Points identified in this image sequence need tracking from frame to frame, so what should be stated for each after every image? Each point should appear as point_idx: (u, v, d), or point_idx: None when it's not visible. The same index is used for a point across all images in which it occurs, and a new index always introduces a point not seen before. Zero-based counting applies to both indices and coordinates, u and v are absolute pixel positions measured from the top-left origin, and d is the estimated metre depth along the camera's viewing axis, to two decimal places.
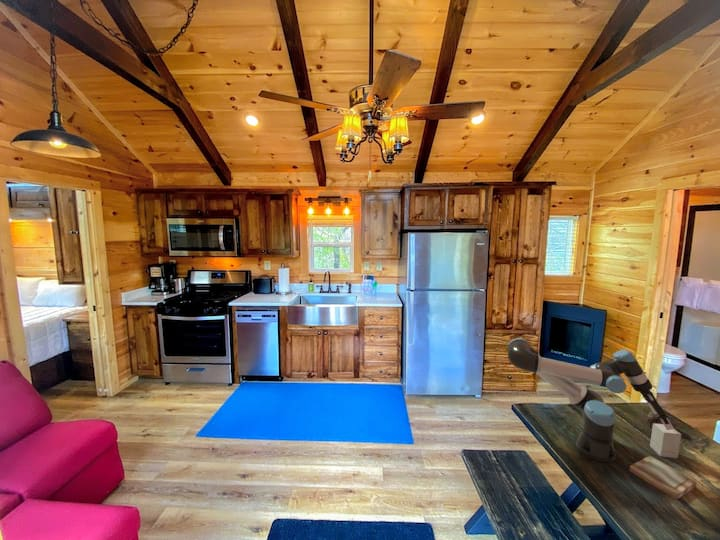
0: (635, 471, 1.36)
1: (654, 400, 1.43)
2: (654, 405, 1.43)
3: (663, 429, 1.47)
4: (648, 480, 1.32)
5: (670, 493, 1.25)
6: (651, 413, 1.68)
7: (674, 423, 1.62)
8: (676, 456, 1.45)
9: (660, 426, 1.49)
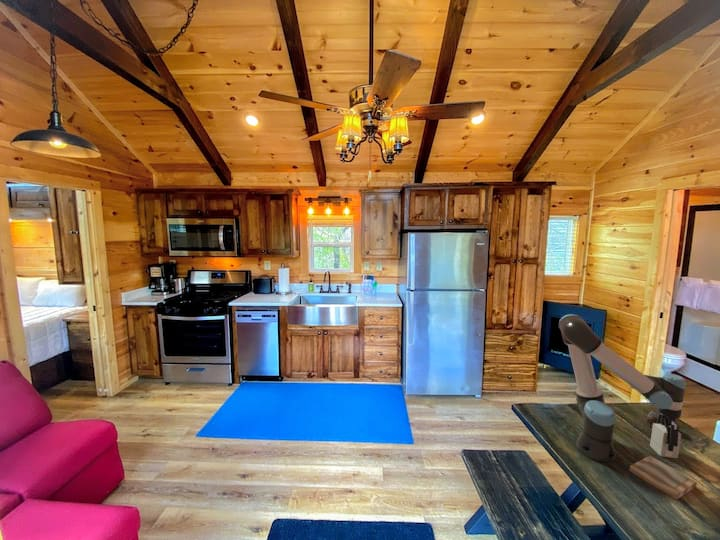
0: (635, 471, 1.36)
1: (676, 430, 1.41)
2: (673, 433, 1.41)
3: (663, 429, 1.47)
4: (648, 480, 1.32)
5: (670, 493, 1.25)
6: (651, 413, 1.68)
7: None
8: (676, 456, 1.45)
9: (660, 426, 1.49)
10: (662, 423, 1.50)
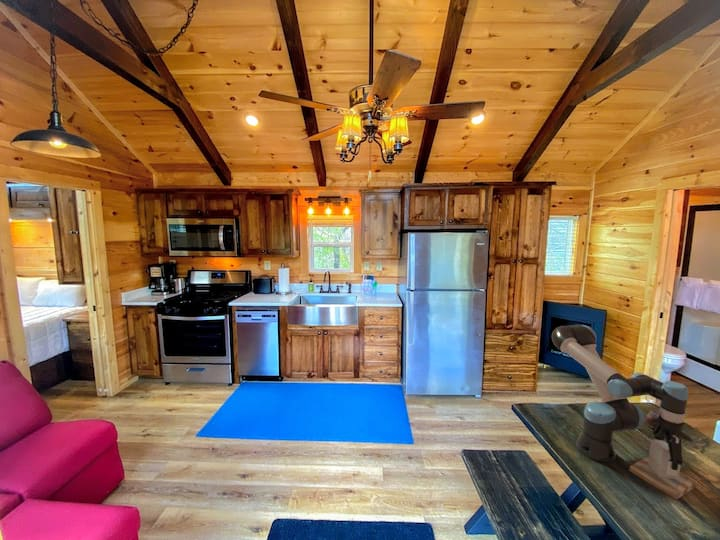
0: (635, 471, 1.36)
1: (679, 444, 1.24)
2: (675, 448, 1.24)
3: (662, 446, 1.31)
4: (648, 480, 1.32)
5: (670, 493, 1.25)
6: (650, 413, 1.68)
7: None
8: (677, 477, 1.29)
9: (659, 443, 1.34)
10: (661, 434, 1.35)
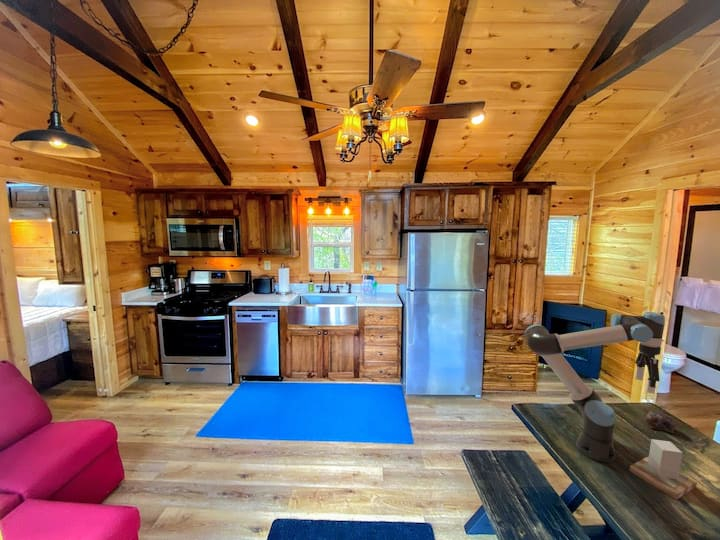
0: (635, 471, 1.36)
1: (656, 364, 1.41)
2: (653, 367, 1.41)
3: (662, 446, 1.31)
4: (648, 480, 1.32)
5: (670, 493, 1.25)
6: (650, 413, 1.68)
7: (673, 424, 1.61)
8: (677, 477, 1.29)
9: (659, 443, 1.34)
10: (642, 361, 1.52)
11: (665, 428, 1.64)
